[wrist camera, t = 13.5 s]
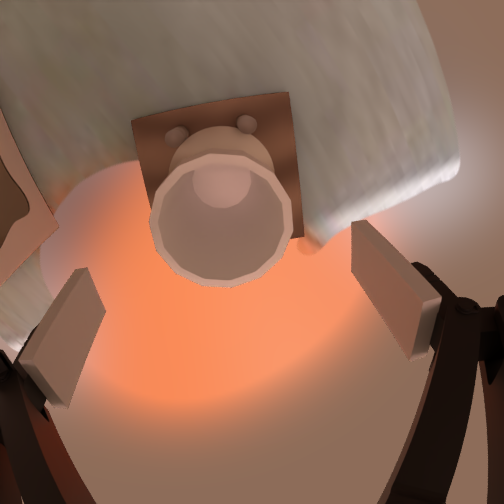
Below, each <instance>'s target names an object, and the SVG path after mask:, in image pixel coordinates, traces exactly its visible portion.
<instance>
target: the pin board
mask: <svg viewBox="0 0 504 504" xmlns="http://www.w3.org/2000/svg"><path fill="white" fill-rule="evenodd" d="M131 124H132V129H133V134H134V138H135V143H136V148H137V152H138V157H139V161H140V166H141V170H142V174H143V178H144V183H145V187H146V191H147V195H148V199H149V203H150V207H151V210H152V205H153V201H154V197H155V193H156V191H157V189H158V188H159V186H160V185H161V184H162V182H163V181H164V180H165V179H166V178H167V176H168V175H169V174H170V173H171V172H172V171H173V170H174V168H175V167H176V166H177V165H178V164H179V163H180V162H181V161H182V160H183V159H185V158H188V157H190V156H193V155H195V154H198V153H200V152H203V151H205V150H208V149H210V148H217V149H231V150H243V151H244V152H246V153H248V154H249V155H251V156H253V157H255V158H256V159H258V160H260V161H261V162H263V163H265V164H266V165H268V166H269V167H270V168H271V170H272V171H273V173H274V174H275V176H276V177H277V179H278V180H279V182H280V184H281V185H282V187H283V188H284V190H285V192H286V193H287V195H288V196H289V198H290V200H291V207H292V220H293V233H292V235H291V237H290V239H292V238H299V237H304V226H303V214H302V203H301V193H300V183H299V173H298V164H297V155H296V146H295V137H294V129H293V121H292V113H291V106H290V98H289V92H282V93H273V94H264V95H256V96H249V97H241V98H235V99H228V100H222V101H216V102H211V103H205V104H200V105H195V106H190V107H185V108H180V109H176V110H171V111H167V112H162V113H158V114H154V115H150V116H146V117H142V118H138V119H135V120H131Z"/></svg>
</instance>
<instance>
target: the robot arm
mask: <svg viewBox="0 0 504 504" xmlns="http://www.w3.org/2000/svg"><path fill="white" fill-rule="evenodd" d="M351 228H352V229H351V230H352V263H351V272H352V273H353V274H354V276H355V277H356V279H357V280H358V282H359V283H360V285H361V286H362V288H363V289H364V291H365V292H366V294H367V295H368V297H369V298H370V300H371V301H372V303H373V305H374V306H375V308H376V309H377V311H378V312H379V314H380V315H381V317H382V318H383V320H384V322H385V323H386V325H387V326H388V328H389V330H390V331H391V333H392V334H393V336H394V338H395V339H396V341H397V342H398V344H399V346H400V347H401V349H402V350H403V352H404V354H405V355H406V357H407V358H408V360H409V362H410V361H413V360H416V359H419V358H422V357H425V356H427V353H428V349H429V345H431V347H432V348H433V349H434V351H435V353H434V356H433V360H432V362H431V365H430V368H429V374H428V378H427V381H426V385H425V388H424V391H423V394H422V397H421V401H420V403H419V406H418V409H417V412H416V415H415V418H414V421H413V423H412V426H411V429H410V432H409V434H408V437H407V439H406V442H405V444H404V447H403V449H402V452H401V454H400V456H399V459H398V461H397V463H396V466H395V468H394V470H393V472H392V474H391V477H390V479H389V481H388V483H387V485H386V487H385V489H384V491H383V493H382V495H381V497H380V499H379V501H378V503H377V504H446V503H445V502H446V497H447V494H448V491H449V488H450V485H451V482H452V479H453V476H454V473H455V470H456V467H457V463H458V459H459V456H460V453H461V449H462V445H463V441H464V437H465V433H466V429H467V424H468V419H469V415H470V409H471V404H472V399H473V392H474V386H475V380H476V371H477V364H478V361H479V366H480V372H481V378H482V385H483V393H484V402H485V411H486V423H487V440H488V495H487V504H504V295H502V296H500V297H499V298H498V300H497V303H496V306H495V307H484V308H481V307H480V306H479V305H478V303H477V302H475V301H473V300H472V299H469V298H466V297H457V296H456V295H455V294H454V293H453V292H452V291H451V290H450V289H449V288H448V287H447V286H446V285H445V284H444V283H443V282H442V281H441V280H440V279H439V278H438V277H437V276H436V275H434V273H433V272H432V271H431V270H430V269H429V268H428V267H427V266H425V265H423V264H421V263H419V262H414V263H410V262H409V261H408V260H407V259H405V257H404V256H403V255H402V254H401V253H399V251H398V250H397V249H396V248H395V247H394V246H393V245H392V244H391V243H390V242H389V241H388V240H387V239H386V238H385V237H383V236H382V235H381V234H380V233H379V232H378V231H377V230H376V229H375V228H374V227H373V226H372V225H371V224H370V223H369V222H368V221H367V220H360V221H354V222H351ZM105 313H106V310H105V308H104V305H103V303H102V301H101V299H100V297H99V294H98V292H97V290H96V287H95V285H94V283H93V280H92V278H91V275H90V273H89V271H88V268H87V267H86V268H81V269H76V270H75V271H74V272H73V273H72V275H71V276H70V278H69V279H68V281H67V282H66V284H65V285H64V287H63V288H62V289H61V291H60V292H59V294H58V296H57V297H56V298H55V300H54V301H53V303H52V305H51V306H50V308H49V309H48V311H47V312H46V314H45V315H44V317H43V319H42V320H41V322H40V323H39V324H38V325H37V326H36V327H35V328H34V329H33V330H32V332H31V333H30V335H29V337H28V338H27V339H28V340H26V342H25V343H24V346H23V347H22V348H21V350H20V352H19V354H18V356H17V357H16V359H15V361H14V363H13V364H12V363H11V361H10V360H9V358H8V357H7V355H6V354H5V352H4V351H3V350H0V504H22V499H23V502H24V504H96V502H95V501H94V499H93V497H92V496H91V494H90V492H89V491H88V489H87V487H86V486H85V484H84V482H83V481H82V479H81V477H80V475H79V473H78V472H77V470H76V468H75V466H74V464H73V462H72V460H71V459H70V456H69V455H68V453H67V451H66V448H65V446H64V444H63V442H62V440H61V438H60V436H59V434H58V432H57V429H56V427H55V425H54V423H53V420H52V418H51V416H50V413H49V411H48V409H46V407H45V406H44V404H45V401H46V399H47V400H48V401H49V402H50V403H51V405H52V406H53V407H54V408H65V409H68V408H69V405H70V402H71V399H72V396H73V393H74V390H75V388H76V385H77V382H78V379H79V377H80V374H81V371H82V369H83V366H84V363H85V361H86V358H87V356H88V353H89V351H90V348H91V346H92V343H93V341H94V338H95V336H96V333H97V331H98V328H99V326H100V324H101V322H102V319H103V317H104V315H105ZM21 496H22V499H21Z"/></svg>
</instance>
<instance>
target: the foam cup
mask: <svg viewBox="0 0 504 504" xmlns="http://www.w3.org/2000/svg"><path fill="white" fill-rule="evenodd" d="M149 224H150V229H151V233H152V236H153V240H154V244H155V248H156V251H157V252H158V253H159V255H160V256H161V257H162V258H163V259H164V260H165V262H166V263H167V264H168V265H169V266H170V267H171V269H172V270H173V271H174V272H175V273H176V274H178V275H180V276H183V277H185V278H187V279H189V280H191V281H193V282H195V283H197V284H199V285H201V286H211V287H231V288H232V287H235V286H238V285H241V284H244V283H246V282H249V281H252V280H255V279H258V278H260V277H262V275H264V274H265V273H266V272H267V271H268V270H269V269H270V268H271V267H272V266H274V265H275V264H276V263H277V262H278V261H279V260H280V259H281V258H282V257H283V254H284V252H285V249H286V247H287V245H288V242H289V240H290V237H291V235H292V233H293V220H292V207H291V200H290V198H289V196H288V195H287V193H286V192H285V190H284V188H283V187H282V185H281V184H280V182H279V180H278V179H277V177H276V176H275V174H274V173H273V171H272V170H271V168H270V167H269V166H268V165H266V164H265V163H263V162H261V161H260V160H258V159H256V158H255V157H253V156H251V155H249V154H248V153H246V152H244V151H243V150H231V149H217V148H210V149H208V150H205V151H203V152H200V153H198V154H195V155H193V156H190V157H188V158H185V159H183V160H182V161H181V162H180V163H179V164H178V165H177V166H176V167H175V168H174V170H173V171H172V172H171V173H170V174H169V175H168V176H167V178H166V179H165V180H164V181H163V182H162V184H161V185H160V186H159V188H158V189H157V191H156V193H155V197H154V201H153V205H152V210H151V214H150V219H149Z"/></svg>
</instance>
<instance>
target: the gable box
mask: <svg viewBox="0 0 504 504" xmlns="http://www.w3.org/2000/svg"><path fill="white" fill-rule="evenodd" d="M58 228H59V225H58V223H57V221H56V220H55V218H54V216H53V215H52V213H51V211H50V209H49V208H48V206H47V204H46V202H45V201H44V199H43V197H42V195H41V193H40V192H39V190H38V188H37V186H36V184H35V182H34V180H33V178H32V176H31V174H30V172H29V170H28V168H27V166H26V164H25V162H24V160H23V158H22V156H21V154H20V152H19V150H18V148H17V146H16V144H15V141H14V139H13V137H12V135H11V132H10V130H9V128H8V126H7V123H6V121H5V118H4V116H3V114H2V111H1V109H0V287H1V286H2V285H3V283H4V282H5V281H6V280H7V279H8V278H9V277H10V276H11V275H12V274H13V273H14V272H15V270H16V269H17V268H18V267H19V266H20V265H21V264H22V263H23V262H24V261H25V260H26V259H27V258H28V257H29V256H30V255H31V254H32V253H33V252H34V251H35V250H36V249H37V248H38V247H39V246H40V245H41V244H42V243H43V242H44V241H45V240H46V239H47V238H48V237H50V236H51V235H52V234H53V233H54V232H55V231H56V230H57V229H58Z"/></svg>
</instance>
